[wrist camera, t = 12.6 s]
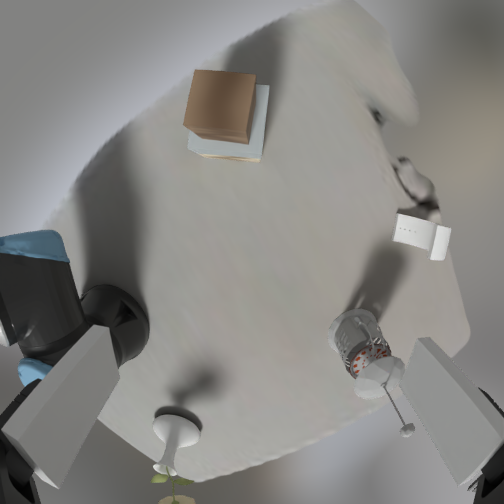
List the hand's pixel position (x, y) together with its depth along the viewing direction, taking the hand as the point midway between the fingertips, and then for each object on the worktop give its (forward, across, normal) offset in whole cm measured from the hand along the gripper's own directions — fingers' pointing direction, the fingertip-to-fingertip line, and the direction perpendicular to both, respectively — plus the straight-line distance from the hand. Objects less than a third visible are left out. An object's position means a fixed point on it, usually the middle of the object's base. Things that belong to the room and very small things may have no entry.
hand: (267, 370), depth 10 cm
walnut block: (+21, -4, +14) cm, 25 cm away
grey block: (+27, -4, +14) cm, 31 cm away
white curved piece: (+32, +26, +2) cm, 41 cm away
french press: (+33, +18, -17) cm, 41 cm away
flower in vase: (+33, -14, -46) cm, 59 cm away
